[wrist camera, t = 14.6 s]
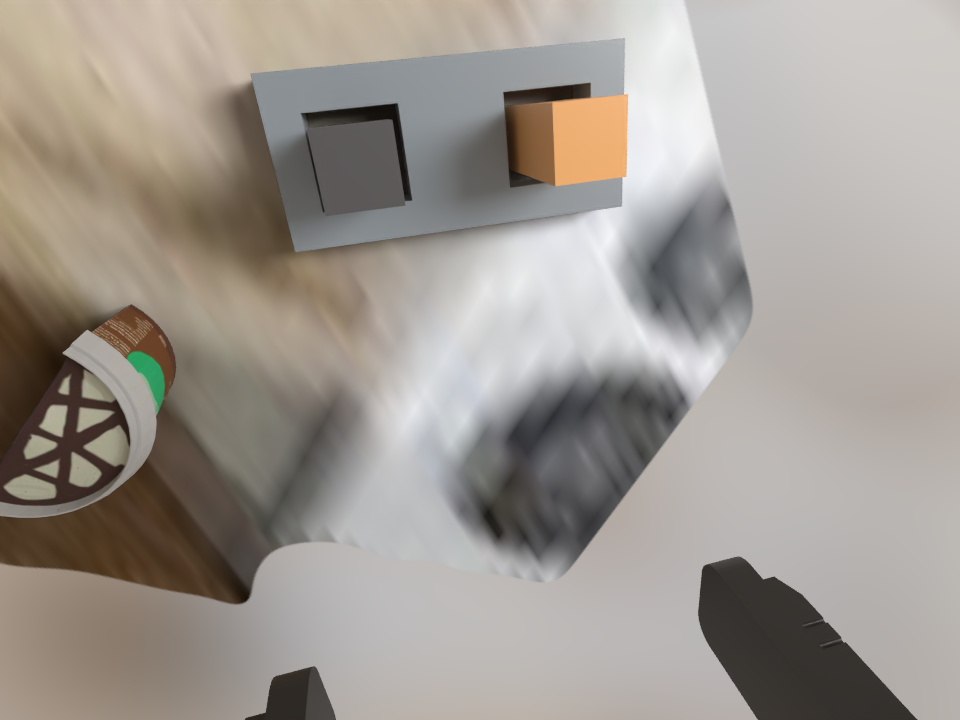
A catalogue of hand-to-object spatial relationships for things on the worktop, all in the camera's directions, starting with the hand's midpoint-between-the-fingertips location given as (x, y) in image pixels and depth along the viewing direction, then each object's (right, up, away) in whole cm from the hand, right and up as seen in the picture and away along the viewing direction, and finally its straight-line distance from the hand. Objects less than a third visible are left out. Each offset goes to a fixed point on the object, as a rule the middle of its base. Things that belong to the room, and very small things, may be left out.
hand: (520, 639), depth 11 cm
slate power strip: (-3, +20, +25) cm, 32 cm away
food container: (-25, +4, +27) cm, 37 cm away
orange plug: (+3, +21, +26) cm, 33 cm away
